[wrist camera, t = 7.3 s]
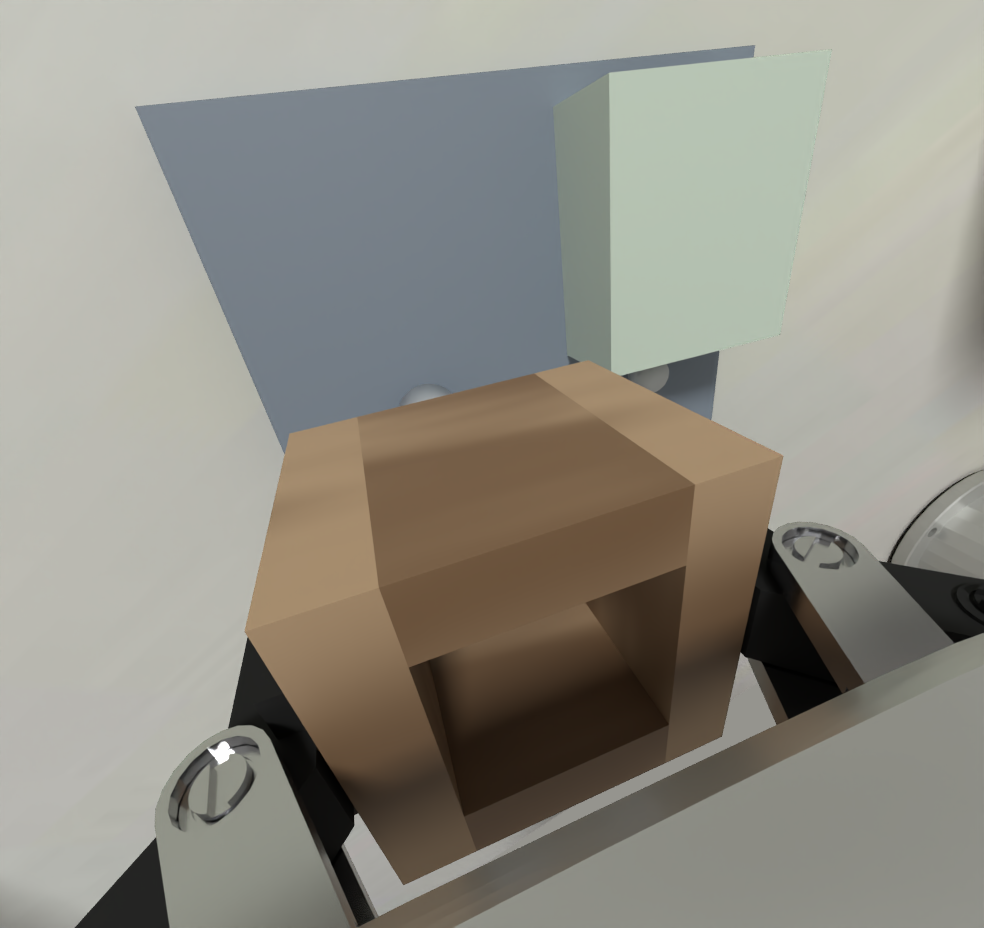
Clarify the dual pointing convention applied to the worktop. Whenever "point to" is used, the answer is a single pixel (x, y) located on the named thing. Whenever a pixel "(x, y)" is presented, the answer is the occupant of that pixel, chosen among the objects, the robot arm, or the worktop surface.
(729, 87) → the cover
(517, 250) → the base
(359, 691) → the collar
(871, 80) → the worktop surface
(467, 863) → the worktop surface
